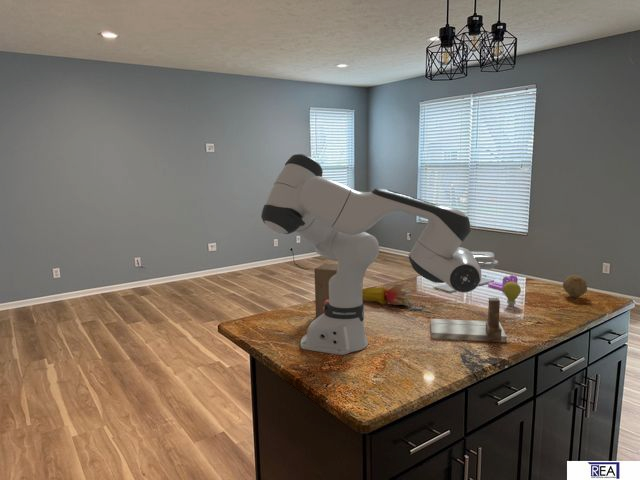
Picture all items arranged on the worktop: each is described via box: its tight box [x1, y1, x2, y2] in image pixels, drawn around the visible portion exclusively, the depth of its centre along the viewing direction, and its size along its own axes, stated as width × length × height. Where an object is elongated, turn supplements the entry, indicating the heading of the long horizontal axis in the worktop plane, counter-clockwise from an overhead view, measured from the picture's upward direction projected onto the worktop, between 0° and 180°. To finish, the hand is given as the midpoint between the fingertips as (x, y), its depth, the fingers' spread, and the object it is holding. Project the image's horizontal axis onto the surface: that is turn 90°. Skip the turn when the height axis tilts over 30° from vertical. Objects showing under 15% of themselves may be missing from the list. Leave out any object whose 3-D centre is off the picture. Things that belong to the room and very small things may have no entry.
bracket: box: [487, 274, 519, 292], centre depth 209 cm, size 13×6×7 cm, turn 30°
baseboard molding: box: [432, 275, 495, 294], centre depth 216 cm, size 31×3×12 cm
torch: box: [362, 283, 415, 307], centre depth 191 cm, size 8×8×25 cm
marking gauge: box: [486, 297, 502, 343], centre depth 151 cm, size 4×12×13 cm, turn 168°
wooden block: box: [313, 263, 338, 319], centre depth 176 cm, size 10×10×20 cm
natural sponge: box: [562, 274, 588, 299], centre depth 192 cm, size 9×9×10 cm
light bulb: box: [502, 282, 522, 307], centre depth 183 cm, size 7×7×10 cm
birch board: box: [430, 318, 507, 343], centre depth 157 cm, size 24×14×2 cm, turn 78°
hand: (455, 253), depth 134 cm, fingers open, 8 cm apart
